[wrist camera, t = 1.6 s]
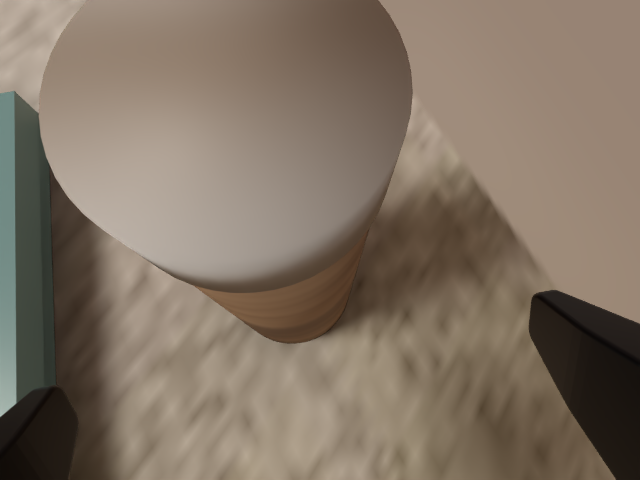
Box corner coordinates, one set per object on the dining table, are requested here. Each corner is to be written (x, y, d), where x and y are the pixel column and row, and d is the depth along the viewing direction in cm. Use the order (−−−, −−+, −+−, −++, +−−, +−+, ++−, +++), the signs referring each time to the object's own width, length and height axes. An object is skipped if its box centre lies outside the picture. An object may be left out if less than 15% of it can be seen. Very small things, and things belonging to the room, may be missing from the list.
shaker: (363, 332, 19) (457, 220, 6) (242, 357, 19) (43, 299, 5) (338, 220, 20) (366, -83, 7) (226, 241, 20) (35, -31, 7)
